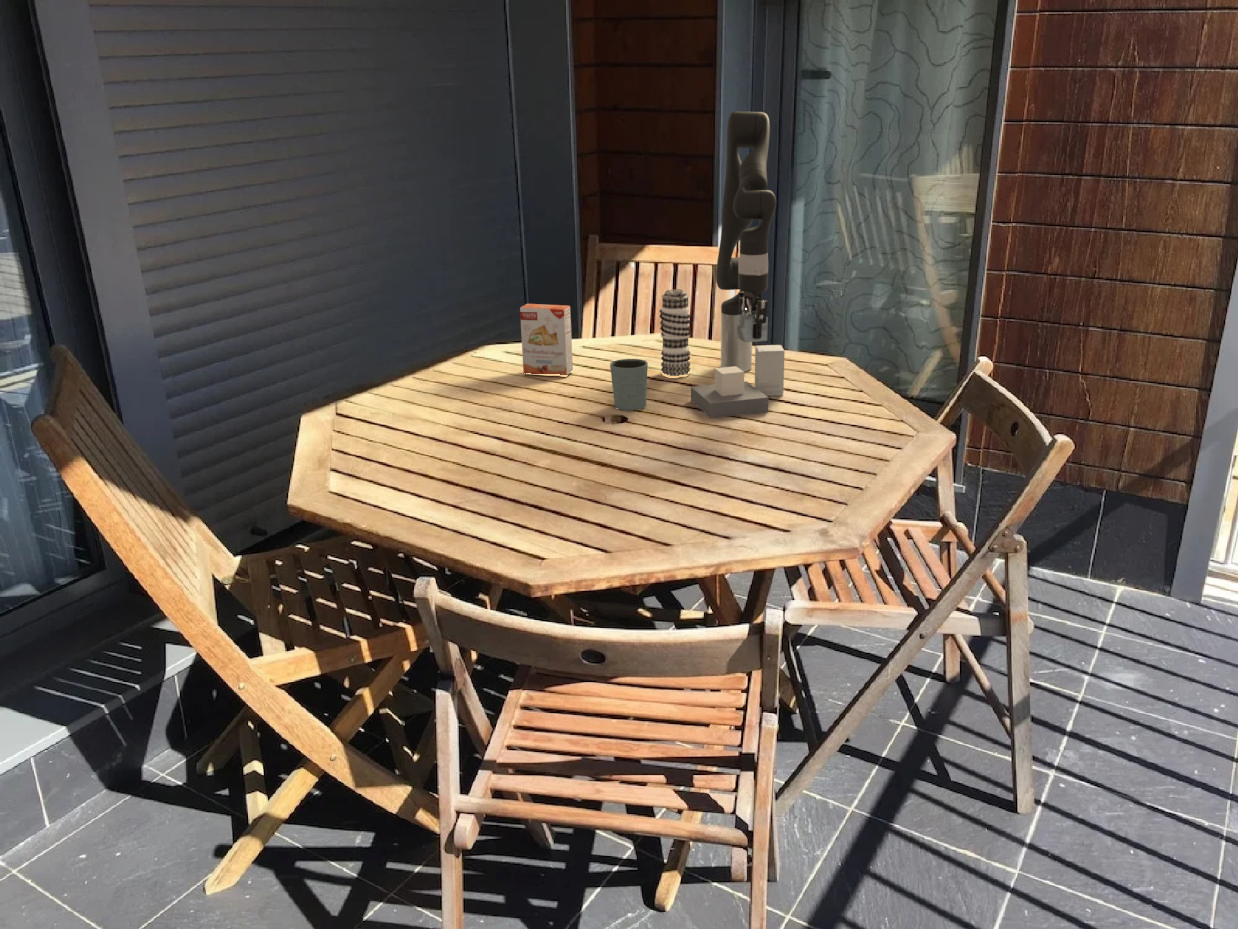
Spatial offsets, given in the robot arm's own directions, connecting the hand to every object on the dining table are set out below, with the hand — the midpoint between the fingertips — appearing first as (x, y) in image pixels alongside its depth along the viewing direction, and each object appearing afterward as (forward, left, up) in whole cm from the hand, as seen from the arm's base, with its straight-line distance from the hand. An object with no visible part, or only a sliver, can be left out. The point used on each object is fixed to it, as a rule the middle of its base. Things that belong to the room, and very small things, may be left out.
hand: (751, 335), depth 270 cm
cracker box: (-50, -45, -20) cm, 70 cm away
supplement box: (-11, +10, -20) cm, 24 cm away
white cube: (-2, -5, -15) cm, 16 cm away
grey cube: (0, 0, -1) cm, 1 cm away
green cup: (-11, -30, -20) cm, 38 cm away
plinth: (-2, -5, -19) cm, 20 cm away
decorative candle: (-37, -9, -20) cm, 43 cm away
